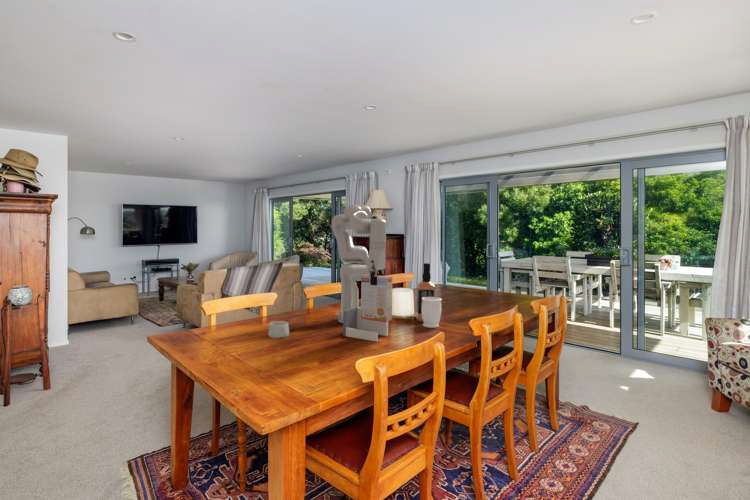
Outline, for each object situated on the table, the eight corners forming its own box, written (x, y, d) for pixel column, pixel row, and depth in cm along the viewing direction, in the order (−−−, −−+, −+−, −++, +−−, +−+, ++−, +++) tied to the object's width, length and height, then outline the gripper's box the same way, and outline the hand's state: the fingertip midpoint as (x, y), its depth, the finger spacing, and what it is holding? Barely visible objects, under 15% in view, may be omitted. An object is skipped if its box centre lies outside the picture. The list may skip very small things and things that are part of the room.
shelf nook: (343, 335, 193) (343, 310, 192) (355, 330, 203) (356, 306, 203) (376, 341, 185) (377, 315, 184) (387, 335, 195) (388, 310, 194)
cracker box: (392, 320, 189) (393, 276, 188) (386, 323, 184) (386, 277, 183) (367, 316, 197) (367, 273, 195) (360, 318, 191) (361, 275, 190)
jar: (428, 329, 208) (429, 300, 207) (417, 324, 217) (417, 297, 216) (444, 327, 212) (445, 299, 211) (433, 322, 222) (434, 295, 221)
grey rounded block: (264, 335, 192) (264, 322, 191) (283, 331, 198) (283, 319, 197) (276, 341, 182) (276, 328, 182) (295, 337, 188) (295, 324, 188)
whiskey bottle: (435, 321, 225) (436, 264, 222) (417, 321, 225) (418, 264, 223) (432, 317, 235) (434, 262, 233) (415, 316, 235) (417, 262, 233)
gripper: (378, 244, 198) (378, 281, 199) (361, 246, 182) (360, 285, 183) (392, 245, 194) (391, 282, 195) (376, 246, 179) (375, 287, 180)
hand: (376, 283), depth 189 cm, fingers closed on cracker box, 6 cm apart
